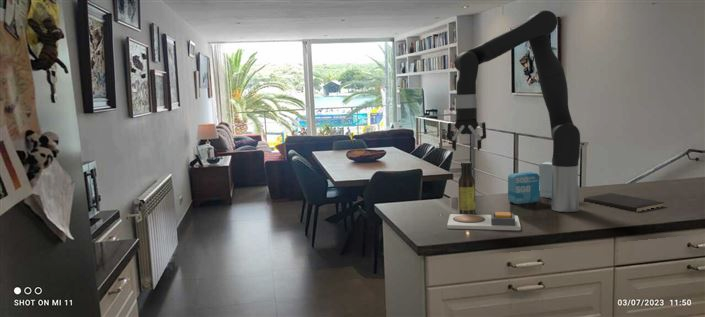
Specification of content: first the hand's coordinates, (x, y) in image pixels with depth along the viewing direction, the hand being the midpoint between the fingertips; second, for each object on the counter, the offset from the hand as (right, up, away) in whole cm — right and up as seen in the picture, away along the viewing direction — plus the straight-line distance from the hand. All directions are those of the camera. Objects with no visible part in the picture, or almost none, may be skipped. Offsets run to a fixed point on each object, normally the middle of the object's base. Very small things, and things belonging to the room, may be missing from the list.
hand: (466, 150), depth 193 cm
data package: (+28, -21, +20) cm, 40 cm away
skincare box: (+42, -20, +27) cm, 54 cm away
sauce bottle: (+1, -24, +3) cm, 25 cm away
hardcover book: (+64, -22, +9) cm, 68 cm away
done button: (+9, -24, -17) cm, 31 cm away
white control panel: (+3, -26, -12) cm, 29 cm away
